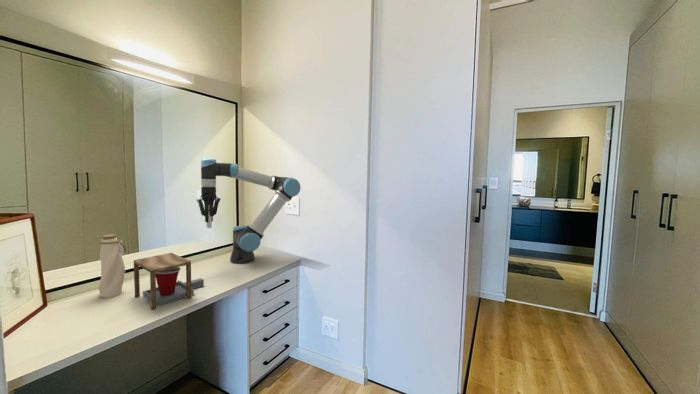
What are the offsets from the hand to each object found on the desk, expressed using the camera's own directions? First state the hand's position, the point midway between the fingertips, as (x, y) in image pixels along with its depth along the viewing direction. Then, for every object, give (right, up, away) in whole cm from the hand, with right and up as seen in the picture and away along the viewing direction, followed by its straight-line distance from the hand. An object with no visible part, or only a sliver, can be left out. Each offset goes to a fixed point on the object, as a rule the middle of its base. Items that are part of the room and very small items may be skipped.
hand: (209, 227), depth 165 cm
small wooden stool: (-6, -29, -30) cm, 43 cm away
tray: (-3, -29, -25) cm, 38 cm away
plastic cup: (-6, -28, -28) cm, 40 cm away
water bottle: (-31, -28, -29) cm, 51 cm away
